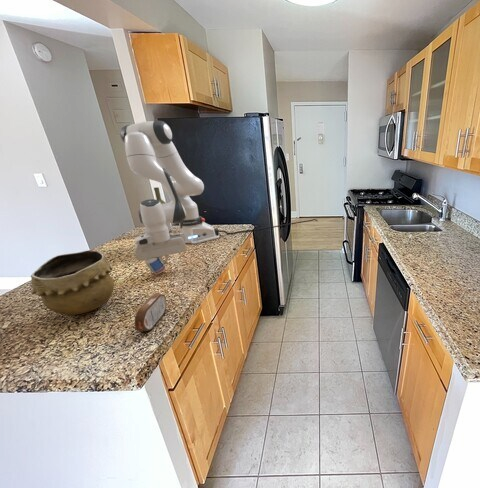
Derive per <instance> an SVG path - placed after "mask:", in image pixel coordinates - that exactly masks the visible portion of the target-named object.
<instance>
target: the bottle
mask: <svg viewBox="0 0 480 488" xmlns="http://www.w3.org/2000/svg"><path fill="white" fill-rule="evenodd" d="M153 190H154V194H155V198H156V199H155V200H159V201H160V203H161V204H163V203H167V202H166V201H164V200H163V199H162V196H161V192H160V187H153ZM171 224H172V223H168V224H166V225H167V227H168V230H169V233H171V232H172V225H171Z"/></svg>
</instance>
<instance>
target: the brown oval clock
mask: <svg viewBox="0 0 480 488" xmlns="http://www.w3.org/2000/svg"><path fill="white" fill-rule="evenodd" d="M166 310H167V298H166V295H165V294H163V293H153V294H152V295H150V296H149V298H148V299H146V301H145V302H144V303H143V304H142V305H141V306H140V307H139V308H138V309H137V311H136V313H135V315H134V316H135V317H134V327H135V330H136V331H138V332H148V331H150V330H152V329H153V328H154V327H155V325H156V324H158V322H159V321H160V320H161V318H162V317H163V316H164V314H165V312H166Z"/></svg>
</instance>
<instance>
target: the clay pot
mask: <svg viewBox="0 0 480 488" xmlns="http://www.w3.org/2000/svg"><path fill="white" fill-rule="evenodd" d="M112 270H113V267H112V265H111V264H110V263H109V261H108V260H107V258H106V256H105V254H103V253H102V252H101V251H99V250H94V249H90V250H89V249H87V250H83V251H79V252H72V253H63V254H58V255H55V256H53V257H52V258H50V259H48V260H47V261H46V262H44V263H43V264H42V265H40V266H39V267H38V268H37V269H36V270H35V271H34V272H33V273H32V274H31V275H30V278H31V285H32V286H31V287H32V288H31V289H32V290H30V293H31V294H32V295H37V297H40V298H41V302H42V304H43V306H44V307H46V308H47V309H48V310H50V311H51V312H54V313H57V314H61V315H66V316H73V315H74V316H75V315H82V314H86V313H89V312H92V311H94V310H97V309H98V308H100V307H101V306H103V305H104V304H105V303H107V302H108V301H109V299H110V298H111V296H112V295H113V292H114V289H115V282H114V279H113V277H112V276H111V273H112Z"/></svg>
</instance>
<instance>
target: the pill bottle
mask: <svg viewBox="0 0 480 488" xmlns="http://www.w3.org/2000/svg"><path fill="white" fill-rule="evenodd" d="M144 263H145V265H146V266H147V268H149V270H150V271H151V272H152V274H153V275H159V274H161V273H163V272H164V271H165V270H166V266H165V265H163V262H162V261H161V260H159V258H158V257H156V258H149V259H145V260H144Z"/></svg>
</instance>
